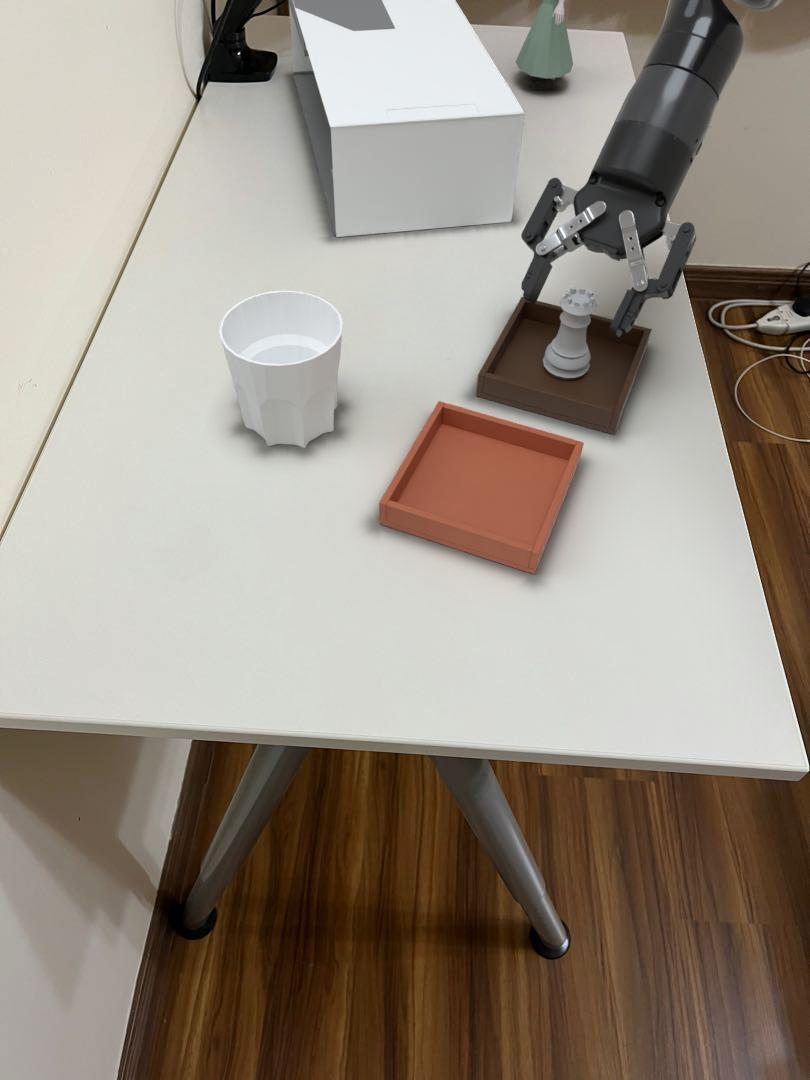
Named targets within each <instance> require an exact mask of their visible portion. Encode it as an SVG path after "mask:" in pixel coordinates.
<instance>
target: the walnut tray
mask: <svg viewBox="0 0 810 1080" xmlns="http://www.w3.org/2000/svg"><path fill="white" fill-rule="evenodd" d="M561 313H563V309H562V308H561V305H556V304H553V303H549V302H544V301H540V300H537V301H536V302H535V303H531V302H529V301H527V300H526V299H525V298H524V297H523V296H521V297H520V299H519V300H518V303H517V304H516V306H515V308H514V310H513V311H512V312H511V315H510V317H509V319H508V320H507V322H506V324H505V326H504V327H503V329H502V331H501V333H500V335H499V336H498V337H497V340H496V341H495V344H494V345H493V347H492V349H491V350H490V352H489V354H488V356H487V358H486V360H485V361H484V363H483V365H482V367H481V369H480V370H479V372H478V373H477V382H476V390H475V391H476V392H475V396H476V397H477V398H478V397H479V398H481V399H486V400H489V401H491V402H495V403H498V404H499V403H500V404H503V405H507V406H510V407H514V408H517V409H521V410H523V411H528V412H531V413H535V414H538V415H543V416H546V417H549V418H553V419H557V420H560V421H564V422H568V423H571V424H574V425H577V426H581V427H584V428H588V429H592V430H595V431H599V432H602V433H606V434H609V435H613V436H615V434H616V431H617V429H618V426H619V424H620V421H621V418H622V415H623V413H624V410H625V407H626V404H627V401H628V399H629V397H630V394H631V391H632V389H633V386H634V383H635V381H636V377H637V375H638V372H639V369H640V367H641V364H642V361H643V359H644V356H645V353H646V351H647V347H648V344H649V341H650V338H651V337H650V336H651V334H652V328H649V327H646V326H645V327H644V326H641V325H638V324H637V325H636V324H634V325H633V327H632V329H631V330H630V331H629V332H628V333H625V332H622V334H621V336H620V337H616V336H614V335H611V333H610V332H609V328H610V325H611V323H612V321H613V319H614V318H609V317H605V316H601V315H596V314H593V313H591V314H590V315H589V316H590V319H591V322H590V324H589V325H588V326H587V332H586V343H587V345H588V349H589V352H590V356H591V359H590V361H589V365H590V366H589V369H588V371H587V372H586V373H585V374H583V375H582V376H581V377H579V378H576V379H573V380H564V379H560V378H556V377H555V376H553V375H551V374H550V373H549V372H548V371H547V370H546V368H545V367H544V364H543V358H544V356H545V351H546V349H547V347H548V345H549V344H550V343H552V341H553V339H555V338H556V336H557V334H558V331H559V328H560V325H561V320H560V315H561Z"/></svg>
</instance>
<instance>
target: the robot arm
mask: <svg viewBox="0 0 810 1080" xmlns="http://www.w3.org/2000/svg"><path fill="white" fill-rule="evenodd" d="M732 1H733V2H734V3H736V4H738V5H739V6H741V7H743V8H744V9H747V10H750V11H753V12H767V11H771V10H772V9H775V8H776V7H778V6H779V5H780V4H781V3H782V2H783V1H784V0H732ZM745 41H746V39H745V32H744V30H743V27H742V25H741V24H740V22H739V21H738V19H737V18H736V17H735V15H734V14H733V13H732V12H731V10H730V9H729V8H728V6H727V5H726V3H725V1H724V0H668V2H667V7H666V11H665V15H664V18H663V22H662V24H661V27H660V30H659V32H658V34H657V36H656V39H655V41H654V43H653V45H652V48H651V49H650V52H649V54H648V56H647V58H646V61H645V63H644V65H643V66H642V69H641V71H640V73H639V75H638V76H637V78H636V80H635V81H634V83H633V84H632V86H631V88H630V89H629V92H628V93H627V95H626V96H625V99H624V100H623V103H622V105H621V107H620V110H619V111H618V114H617V116H616V118H615V120H614V122H613V125H612V127H611V129H610V131H609V133H608V135H607V137H606V139H605V141H604V144H603V146H602V147H601V150H600V152H599V155H598V157H597V159H596V161H595V163H594V166H593V167H592V170H591V172H590V174H589V177H588V179H587V181H586V183H585V184H584V185H583V186H582V187H581V188H580V189H579V190H576V189H574V188H571V187H569V186H566V185H564V184H563V183H562V181H561V180H560V179H559V178H558V177H552V178H550V179H549V181H548V182H547V183H546V186H545V188H544V190H543V192H542V194H541V195H540V198H539V199H538V202H537V203H536V205H535V207H534V208H533V210H532V213H531V215H530V217H529V219H528V220H527V222H526V224H525V226H524V228H523V229H522V232H521V234H520V235H521V236H520V237H521V240H522V241H523V242H524V243H525V245H526V246H527V248H529V250H531V251H532V252H533V257H532V260H531V262H530V264H529V266H528V268H527V270H526V273H525V275H524V277H523V280H522V282H521V287H520V289H521V291H522V292H523V294H522V297H524V298H525V299H526V300H527V301H529V302H531V303H535V302H536V301H538V299H539V297H540V295H541V293H542V290H543V288H544V286H545V284H546V281H548V277H549V275H550V273H551V271H552V269H553V265H552V263H554V262H555V261H556V260H558V259H559V258H561V257H563V256H564V255H565V254H568V253H572V252H574V251H576V250H577V249H579V248H581V247H582V246H584V247H585V248H586V249H587V250H588V251H590V252H593V253H597V254H605V255H606V256H608V257H609V258H610V259H612V260H615V261H617V262H620V261H621V260H625V259H626V260H627V263H628V264H627V265H628V267H629V272H630V278H631V282H632V287H631V289H627V290H626V292H625V294H624V297H623V298H622V300H621V302H620V304H619V306H618V309H617V311H616V312H615V315H614V317H613V318H612V319H613V321H612V323H611V325H610V328H609V332H610V333H611V335H614V336H616V337H620V336H621V334H622V332H625V333H628V332H629V331H630V330H631V329H632V327H633V325H635V323H636V321H637V318H638V317H639V314H640V312H641V311H642V308H643V306H644V304H645V303H646V302H647V301H648V300H649V299H653V298H655V299H656V298H660V299H662V300H669V299H671V298H672V297H673V295H674V294H675V291H676V288H677V287H678V284H679V281H680V280H681V277H682V274H683V272H684V270H685V267H686V265H687V262H688V260H689V258H690V257H691V253H692V251H693V248H694V246H695V244H696V240H697V232H696V228H695V225H694V224H693V222H690V221H686V222H683V223H682V224H680V223H677V222H673V221H669V220H668V214H669V212H670V209H671V208H672V205H673V203H674V202H675V199H676V197H677V195H678V193H679V191H680V189H681V188H682V185H683V182H684V181H685V179H686V176H687V174H688V172H689V171H690V168H691V166H692V164H693V162H694V160H695V158H696V156H698V154H699V152H700V150H701V148H702V146H703V141H704V139H705V137H706V135H707V132H708V130H709V127H710V125H711V122H712V119H713V117H714V114H715V110H716V108H717V106H718V103H719V101H720V99H721V97H722V95H723V93H724V91H725V88H726V87H727V84H728V83H729V80H730V77H731V76H732V74H733V73H734V70H735V69H736V66H737V64H738V62H739V60H740V57H741V55H742V53H743V50H744V46H745ZM570 205H573V211H574V215H575V216H574V217H573V218H571V219H569V220H568V221H566V222H564V223H563V224H562V225H560V226H559V227H558V228H557V229H556V230H555V232H553V233H552V234H551V235H549V236H547V234H548V232H549V231H550V229H551V227H552V225H553V222H554V221H555V219H556V217H557V215H558V213H562V212H564V211H565V210H566V209H567V208H568V207H569V206H570ZM546 236H547V237H546ZM663 236H664V237H666V240H665V244H666V247H667V249H668V251H669V252H668V254H667V256H666V259H665V261H664V264H663V267H662V269H661V271H660V273H659V275H658V278H649V273H648V266H647V260H646V256H645V252H644V249H645V248H647V247H649V245H651V244H653V243H655V242H656V241H657V240H659V239H661V238H662V237H663Z"/></svg>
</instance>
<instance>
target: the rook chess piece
mask: <svg viewBox="0 0 810 1080" xmlns="http://www.w3.org/2000/svg"><path fill="white" fill-rule="evenodd" d="M559 306H561V308H562V309H563V313H561V315H560V320H561V325H560V328H559V331H558V334H557V336H556V338H555V339H553V341H552V343H550V344H549V345H548V347H547V349H546V351H545V356H544V358H543V364H544V367H545V368H546V370H547V371H548V372H549V373H550V374H551V375H553V376H555V377H556V378H560V379H564V380H573V379H576V378H579V377H581V376H582V375H583V374H585V373H586V372H587V371H588V369H589V366H590V365H589V361H590V359H591V356H590V352H589V349H588V345H587V343H586V332H587V326H588V325H589V324H590V322H591V319H590V316H589V315H590V314H593V313H594V312H595V311H596V309H597V307H598V306H597V303H596V301H595V296H594V292H593V291H592V290H588V291H587V293H586V287H583V286H580V287H579V291H577V288H576V287H570V288H569V290H566V292H565V295H564V296H563V297H562V298H561V299H560V301H559Z"/></svg>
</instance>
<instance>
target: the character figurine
mask: <svg viewBox="0 0 810 1080" xmlns="http://www.w3.org/2000/svg"><path fill="white" fill-rule="evenodd" d="M565 2H566V0H543V1H542V2H541V4H540V7H539V9H538V12H537V14H536V16H535V18H534V20H533V23H532V25H531V27H530V29H529V31H528V33H527V35H526V38H525V40H524V42H523V44H522V46H521V48H520V51H519V53H518V55H517V57H516V60H515V64H516V66H517V68H518V69H519V70H520V71H522V72H523V73H525V74H526V75H528V76H530V77H531V78H530V79H531V80H533V81H541V82H537V83H534V84H533V85H532V89H534V90H539V91H540V90H541V91H546V90H548V91H549V90H555V89H556V78H562V77H564V76H565V75H567V74H570V73H571V72H572V69H573V66H574V60H573V56H572V50H571V45H570V40H569V34H568V29H567V22H566V17H565V6H564V5H565Z"/></svg>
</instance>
